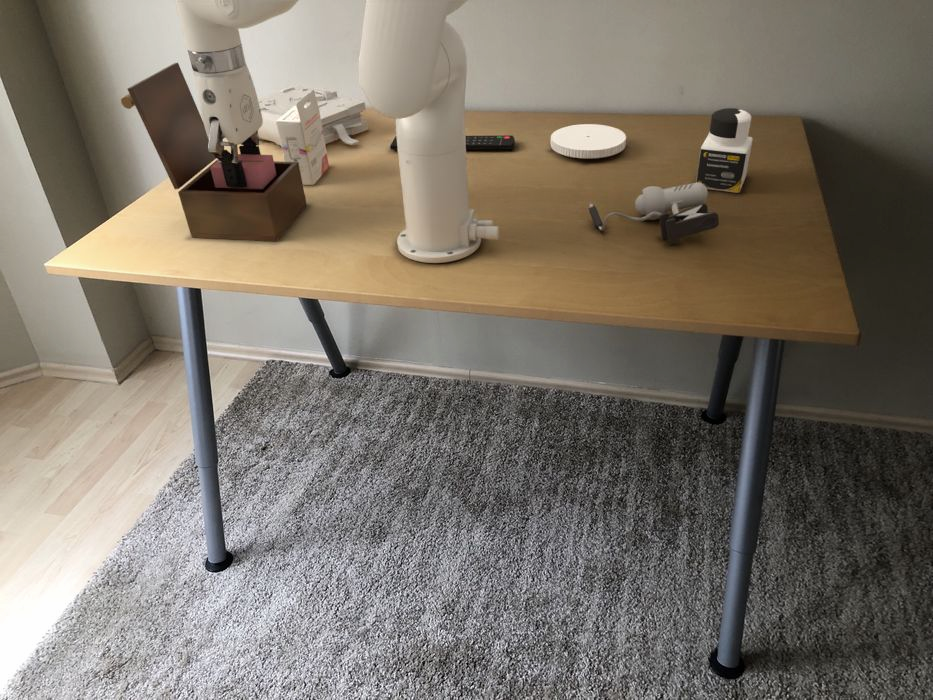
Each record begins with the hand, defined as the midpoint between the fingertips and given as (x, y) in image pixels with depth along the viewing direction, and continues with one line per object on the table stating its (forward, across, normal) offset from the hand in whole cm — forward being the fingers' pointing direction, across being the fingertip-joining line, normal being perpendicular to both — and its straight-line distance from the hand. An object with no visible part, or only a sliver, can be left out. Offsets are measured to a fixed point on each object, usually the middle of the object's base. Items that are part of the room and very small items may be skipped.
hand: (245, 177), depth 115 cm
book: (+8, +40, +6) cm, 41 cm away
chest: (+8, 0, +1) cm, 8 cm away
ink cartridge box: (+8, +19, -2) cm, 21 cm away
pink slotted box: (+1, 0, 0) cm, 1 cm away
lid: (-8, 0, +9) cm, 12 cm away
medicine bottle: (+8, +21, -75) cm, 78 cm away
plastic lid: (+8, +35, -52) cm, 63 cm away
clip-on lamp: (+8, +3, -63) cm, 64 cm away
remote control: (+8, +35, -26) cm, 44 cm away
